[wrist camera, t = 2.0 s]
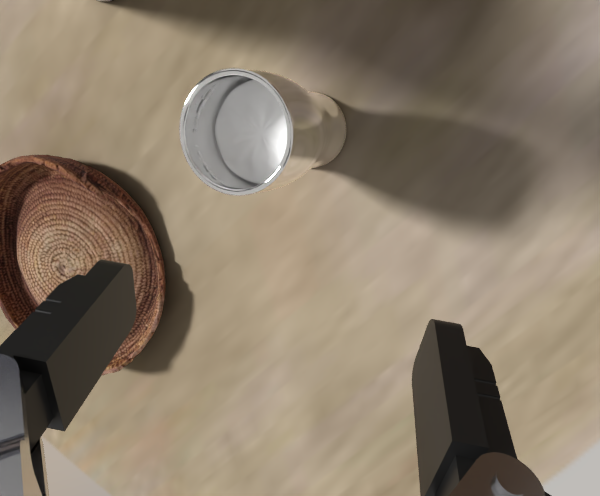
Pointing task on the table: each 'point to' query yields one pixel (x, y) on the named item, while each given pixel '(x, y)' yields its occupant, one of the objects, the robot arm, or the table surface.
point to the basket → (73, 240)
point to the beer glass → (257, 131)
